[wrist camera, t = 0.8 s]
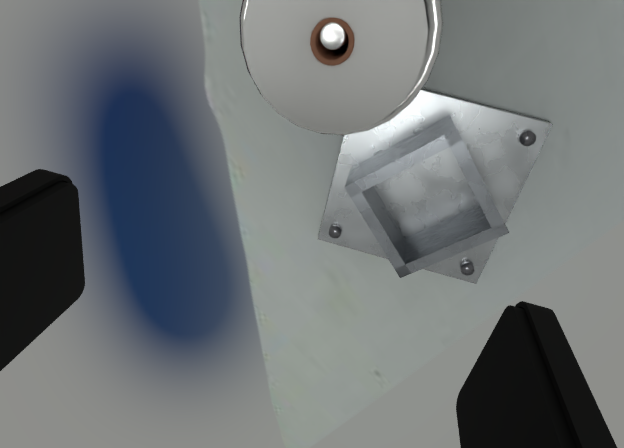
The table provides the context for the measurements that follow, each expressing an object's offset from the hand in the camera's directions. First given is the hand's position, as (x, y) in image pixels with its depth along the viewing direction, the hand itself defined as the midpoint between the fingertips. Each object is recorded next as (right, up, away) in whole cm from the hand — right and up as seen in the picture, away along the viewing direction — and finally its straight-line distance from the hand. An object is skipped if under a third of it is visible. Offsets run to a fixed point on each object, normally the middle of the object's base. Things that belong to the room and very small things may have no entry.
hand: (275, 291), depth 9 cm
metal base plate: (+11, +5, +31) cm, 33 cm away
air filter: (+6, +18, +26) cm, 32 cm away
